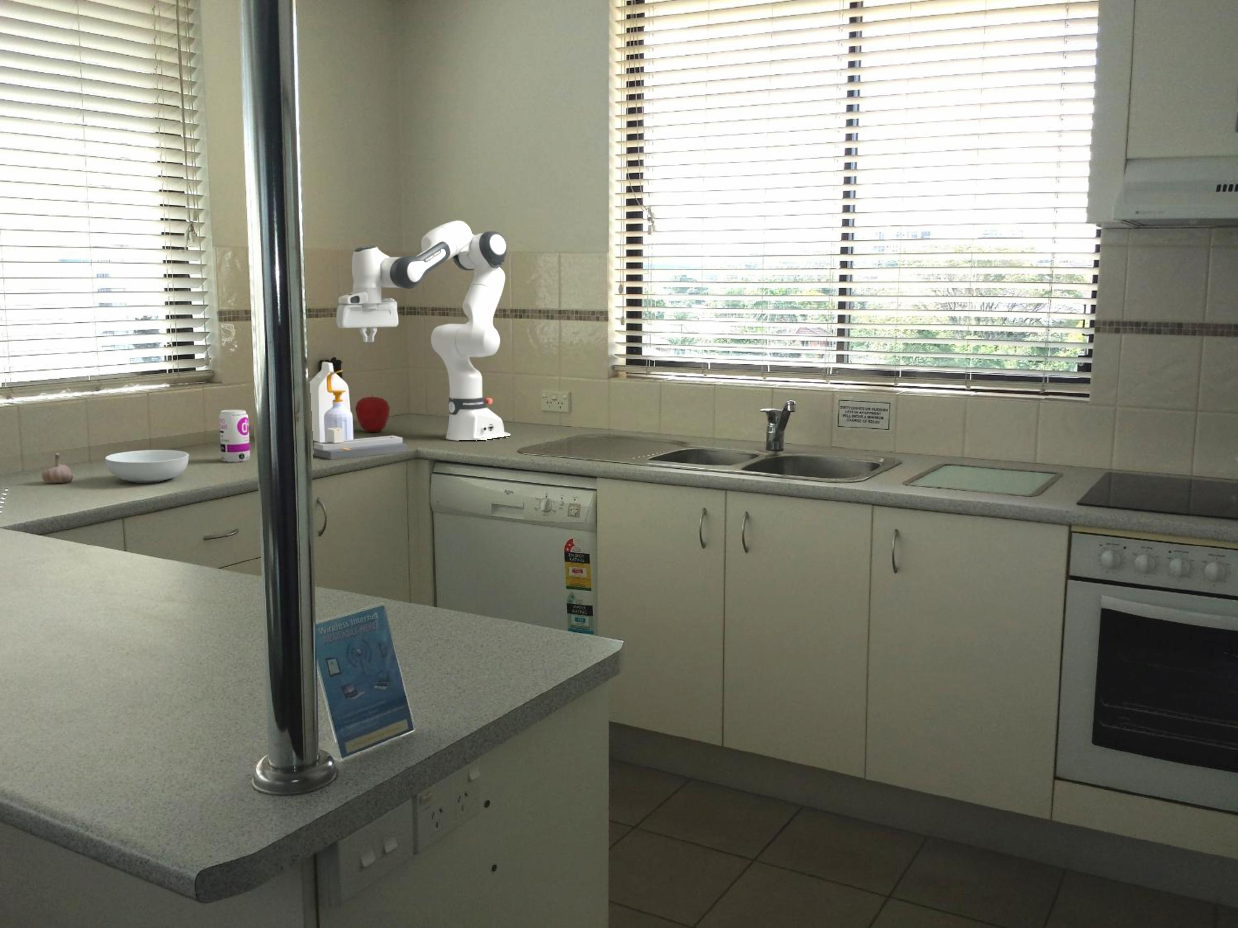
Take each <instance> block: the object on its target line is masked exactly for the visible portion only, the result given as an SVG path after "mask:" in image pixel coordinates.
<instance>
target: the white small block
mask: <svg viewBox="0 0 1238 928" xmlns="http://www.w3.org/2000/svg"><path fill="white" fill-rule="evenodd" d="M327 441H329V442H330V444H334V443H341V442H344V441H343V429H340V428H327Z"/></svg>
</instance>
